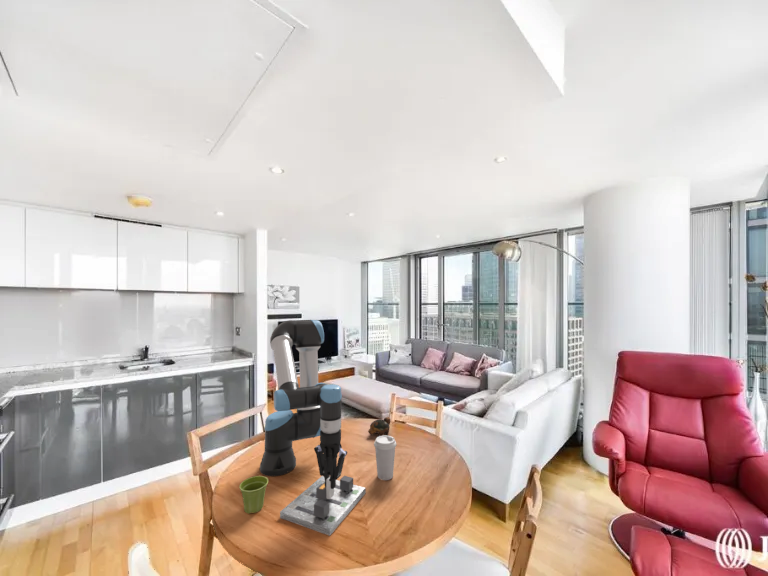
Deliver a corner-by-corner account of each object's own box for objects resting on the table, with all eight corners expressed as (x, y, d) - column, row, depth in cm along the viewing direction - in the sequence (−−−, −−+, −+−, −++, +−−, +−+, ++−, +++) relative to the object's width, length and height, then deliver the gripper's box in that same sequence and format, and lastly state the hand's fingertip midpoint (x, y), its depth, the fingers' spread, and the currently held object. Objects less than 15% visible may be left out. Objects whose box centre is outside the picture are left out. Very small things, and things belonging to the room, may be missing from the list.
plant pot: (250, 521, 104) (250, 494, 104) (233, 511, 109) (233, 485, 109) (273, 505, 112) (273, 480, 112) (256, 497, 117) (257, 473, 117)
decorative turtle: (395, 432, 175) (395, 418, 175) (376, 442, 164) (376, 427, 164) (383, 426, 182) (383, 413, 182) (364, 436, 171) (364, 422, 171)
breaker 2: (313, 515, 103) (313, 504, 103) (319, 510, 105) (319, 499, 106) (323, 518, 101) (324, 507, 101) (329, 513, 104) (329, 502, 104)
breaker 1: (316, 497, 112) (316, 487, 112) (321, 493, 115) (321, 482, 115) (325, 500, 110) (325, 489, 111) (330, 496, 113) (330, 485, 113)
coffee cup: (394, 483, 125) (394, 445, 126) (371, 481, 127) (371, 443, 128) (398, 471, 135) (398, 435, 135) (376, 468, 136) (376, 433, 137)
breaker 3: (339, 489, 117) (340, 479, 117) (344, 484, 120) (344, 475, 120) (349, 491, 116) (349, 482, 116) (353, 487, 118) (353, 477, 119)
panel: (280, 517, 105) (280, 511, 105) (322, 481, 127) (322, 475, 127) (329, 535, 97) (329, 528, 97) (365, 493, 119) (365, 487, 119)
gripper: (309, 430, 112) (308, 498, 111) (340, 436, 107) (340, 507, 106) (321, 422, 119) (321, 486, 118) (351, 428, 113) (351, 495, 112)
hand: (330, 496), depth 112 cm, fingers closed
